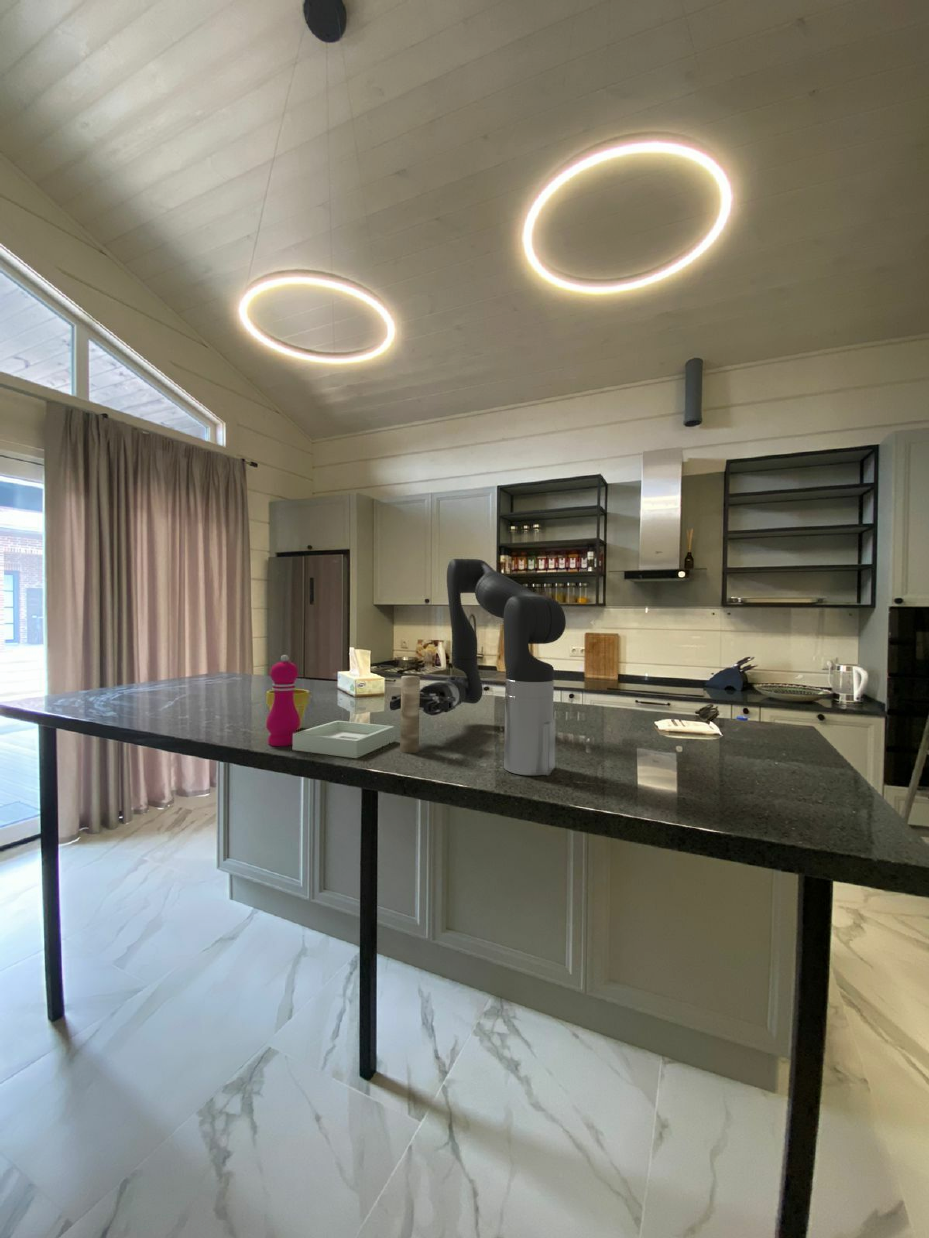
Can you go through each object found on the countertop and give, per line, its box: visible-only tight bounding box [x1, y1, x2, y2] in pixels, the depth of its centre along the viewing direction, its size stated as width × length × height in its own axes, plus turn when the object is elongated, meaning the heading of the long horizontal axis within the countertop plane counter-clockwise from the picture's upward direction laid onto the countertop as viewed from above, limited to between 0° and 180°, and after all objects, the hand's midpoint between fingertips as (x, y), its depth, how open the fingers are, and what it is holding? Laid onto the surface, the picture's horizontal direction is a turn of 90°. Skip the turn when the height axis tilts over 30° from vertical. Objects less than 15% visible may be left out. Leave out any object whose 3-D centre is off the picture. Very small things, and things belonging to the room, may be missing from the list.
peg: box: [399, 675, 421, 754], centre depth 108 cm, size 4×4×16 cm
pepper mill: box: [265, 654, 300, 747], centre depth 113 cm, size 7×7×20 cm
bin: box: [292, 720, 396, 759], centre depth 111 cm, size 16×16×4 cm
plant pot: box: [265, 688, 310, 731], centre depth 127 cm, size 10×10×10 cm
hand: (409, 707), depth 107 cm, fingers open, 8 cm apart
